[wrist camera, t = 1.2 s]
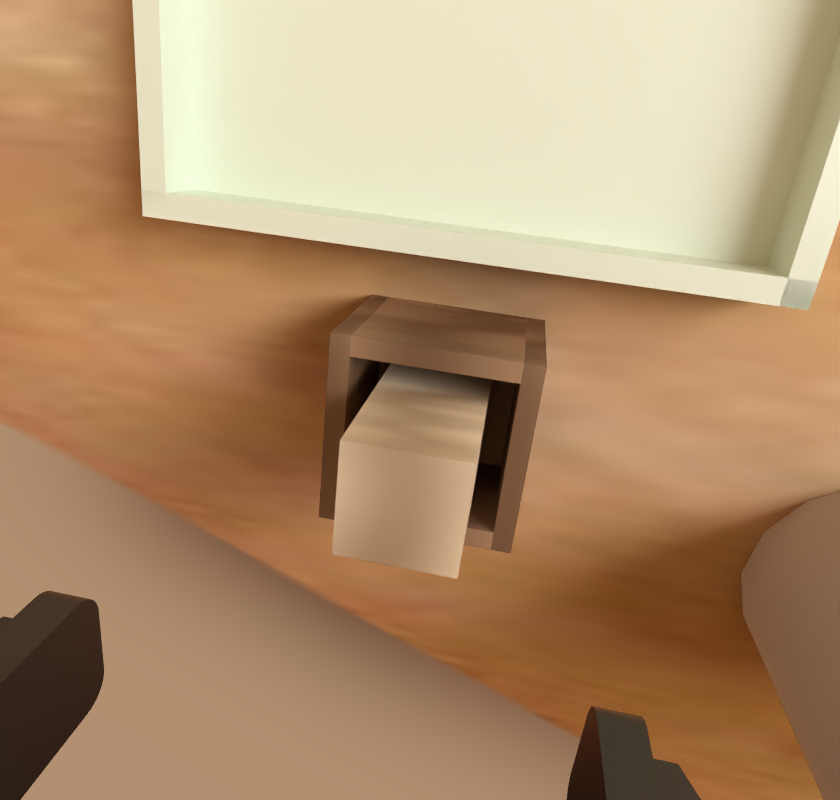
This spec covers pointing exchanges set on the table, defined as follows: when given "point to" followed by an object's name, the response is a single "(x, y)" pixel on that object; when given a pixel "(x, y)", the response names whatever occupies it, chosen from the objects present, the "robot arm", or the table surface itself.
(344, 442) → the peg
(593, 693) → the table surface
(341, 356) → the open drawer box
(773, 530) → the cup
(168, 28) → the tray
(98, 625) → the robot arm
